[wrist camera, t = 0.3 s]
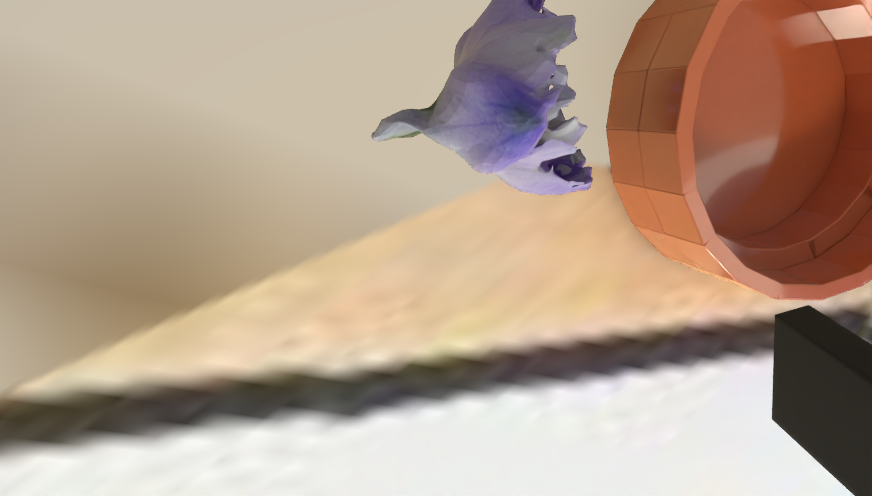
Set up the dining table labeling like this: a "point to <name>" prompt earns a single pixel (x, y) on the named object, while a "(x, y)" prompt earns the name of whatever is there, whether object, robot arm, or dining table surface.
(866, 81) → the pot
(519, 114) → the flower
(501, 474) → the dining table surface
